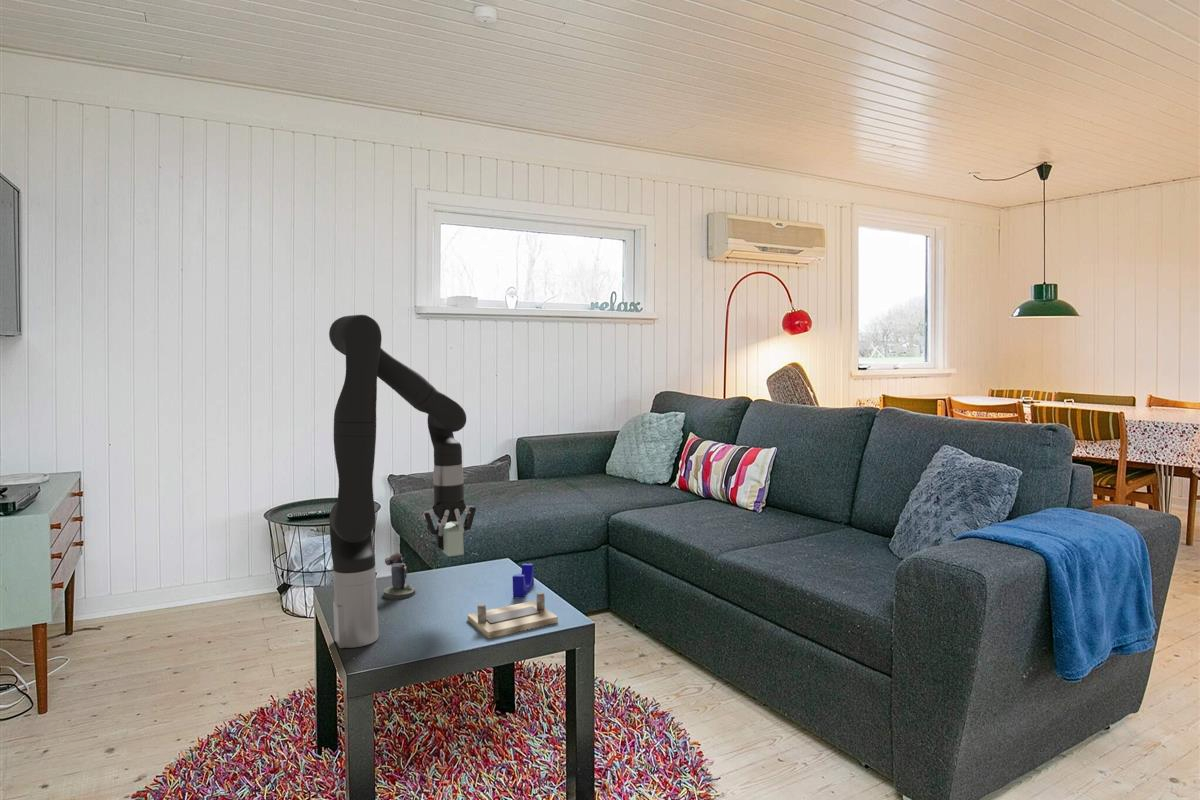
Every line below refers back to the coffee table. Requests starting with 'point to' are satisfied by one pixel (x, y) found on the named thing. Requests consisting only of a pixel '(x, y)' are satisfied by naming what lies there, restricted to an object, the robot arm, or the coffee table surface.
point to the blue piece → (523, 581)
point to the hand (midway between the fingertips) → (450, 548)
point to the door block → (453, 540)
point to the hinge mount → (512, 617)
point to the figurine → (398, 579)
